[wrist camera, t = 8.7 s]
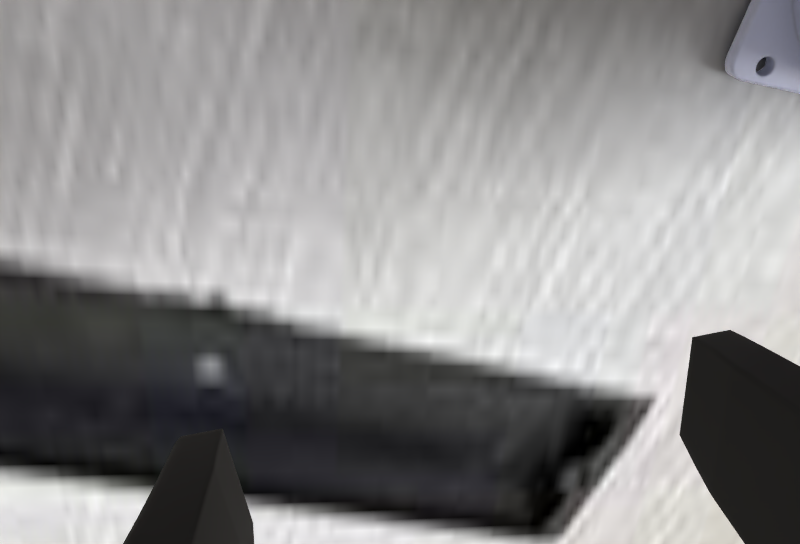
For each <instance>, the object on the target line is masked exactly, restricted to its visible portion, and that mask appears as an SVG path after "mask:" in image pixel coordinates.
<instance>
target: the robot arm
mask: <svg viewBox="0 0 800 544" xmlns="http://www.w3.org/2000/svg"><path fill="white" fill-rule="evenodd" d="M764 57H766V63H765V65H764V67H763V68H762V69H761V70H759V71H758V72H756V66H757V64H758V62H759V61H760V60H761V59H762V58H764ZM725 70H726V71H727V73H728V74H729V75H730V76H732V77H734V78H736V79H738V80H740V81H744V82H749V83H753V84H758V85H762V86H767V87H771V88H776V89H780V90H785V91H789V92H794V93H798V94H800V0H751V2H750V5H749V7H748V9H747V11H746V14H745V16H744V18H743V20H742V22H741V25H740V27H739V29H738V31H737V34H736V36H735V38H734V40H733V43H732V45H731V47H730V49H729V52H728V54H727V56H726V60H725ZM680 437H681V438H682V440H683V442H684V444H685V446H686V448H687V450H688V452H689V454H690V456H691V458H692V460H693V462H694V464H695V466H696V468H697V470H698V472H699V474H700V475H701V477H702V479H703V481H704V483H705V485H706V486H707V488H708V490H709V492H710V494H711V495H712V497H713V498H714V500H715V501H716V502H717V504H718V505H719V507H720V508H721V510H722V511H723V513H724V514H725V516H726V517H727V519H728V520H729V521H730V523H731V524H732V526H733V527H734V529H735V530H736V531H737V533H738V534H739V536H740V537H741V539H742V540H743V542H744V543H745V544H800V366H798V365H796V364H794V363H792V362H791V361H789V360H787V359H785V358H783V357H781V356H780V355H778V354H776V353H774V352H772V351H770V350H768V349H767V348H765V347H763V346H761V345H759V344H757V343H755V342H753V341H751V340H749V339H747V338H746V337H744V336H741V335H739V334H737V333H735V332H733V331H731V330H728V331H722V332H717V333H712V334H707V335H702V336H697V337H692V345H691V353H690V360H689V368H688V375H687V383H686V391H685V398H684V406H683V414H682V421H681V429H680ZM123 544H254V534H253V522H252V519H251V515H250V512H249V509H248V506H247V503H246V500H245V497H244V494H243V491H242V488H241V484H240V481H239V478H238V475H237V472H236V469H235V466H234V463H233V460H232V457H231V454H230V450H229V447H228V444H227V441H226V438H225V435H224V432H223V429H218V430H212V431H207V432H202V433H197V434H192V435H187V436H182V437H180V438H179V439H178V440H177V442H176V443H175V444H174V446H173V448H172V451H171V453H170V455H169V457H168V459H167V461H166V463H165V465H164V467H163V469H162V471H161V473H160V475H159V477H158V479H157V481H156V483H155V485H154V487H153V489H152V491H151V493H150V495H149V497H148V499H147V501H146V503H145V505H144V507H143V508H142V510H141V512H140V514H139V516H138V518H137V520H136V522H135V523H134V525H133V527H132V529H131V531H130V532H129V534H128V536H127V538H126V540H125V541H124V543H123Z"/></svg>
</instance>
